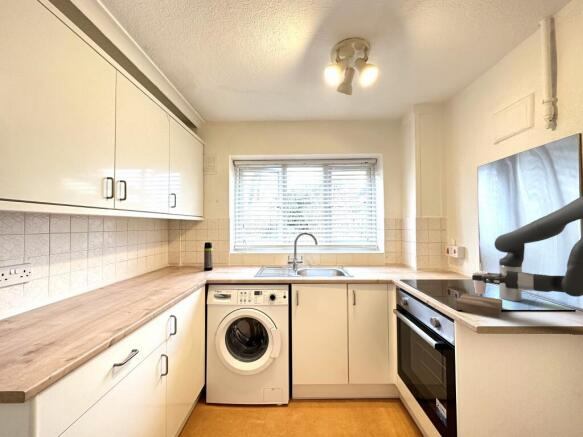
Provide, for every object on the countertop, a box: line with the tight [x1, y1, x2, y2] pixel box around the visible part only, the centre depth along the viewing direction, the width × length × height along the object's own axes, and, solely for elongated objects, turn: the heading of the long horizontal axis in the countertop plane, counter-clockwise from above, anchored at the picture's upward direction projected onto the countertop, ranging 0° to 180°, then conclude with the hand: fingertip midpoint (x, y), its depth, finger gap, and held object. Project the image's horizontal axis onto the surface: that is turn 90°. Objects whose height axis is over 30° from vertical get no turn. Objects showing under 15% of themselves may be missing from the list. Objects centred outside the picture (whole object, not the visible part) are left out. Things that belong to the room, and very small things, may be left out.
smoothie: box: [471, 262, 489, 295], centre depth 130 cm, size 6×6×14 cm
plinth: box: [455, 293, 503, 319], centre depth 130 cm, size 16×16×4 cm
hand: (473, 276), depth 131 cm, fingers closed on smoothie, 6 cm apart
